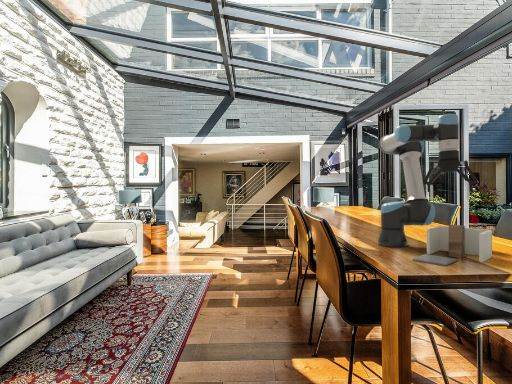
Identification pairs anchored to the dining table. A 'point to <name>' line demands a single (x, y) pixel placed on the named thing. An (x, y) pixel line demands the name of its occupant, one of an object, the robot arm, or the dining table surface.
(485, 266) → the dining table surface
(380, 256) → the dining table surface
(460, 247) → the walnut block
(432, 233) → the cubby
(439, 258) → the coaster
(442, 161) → the robot arm
